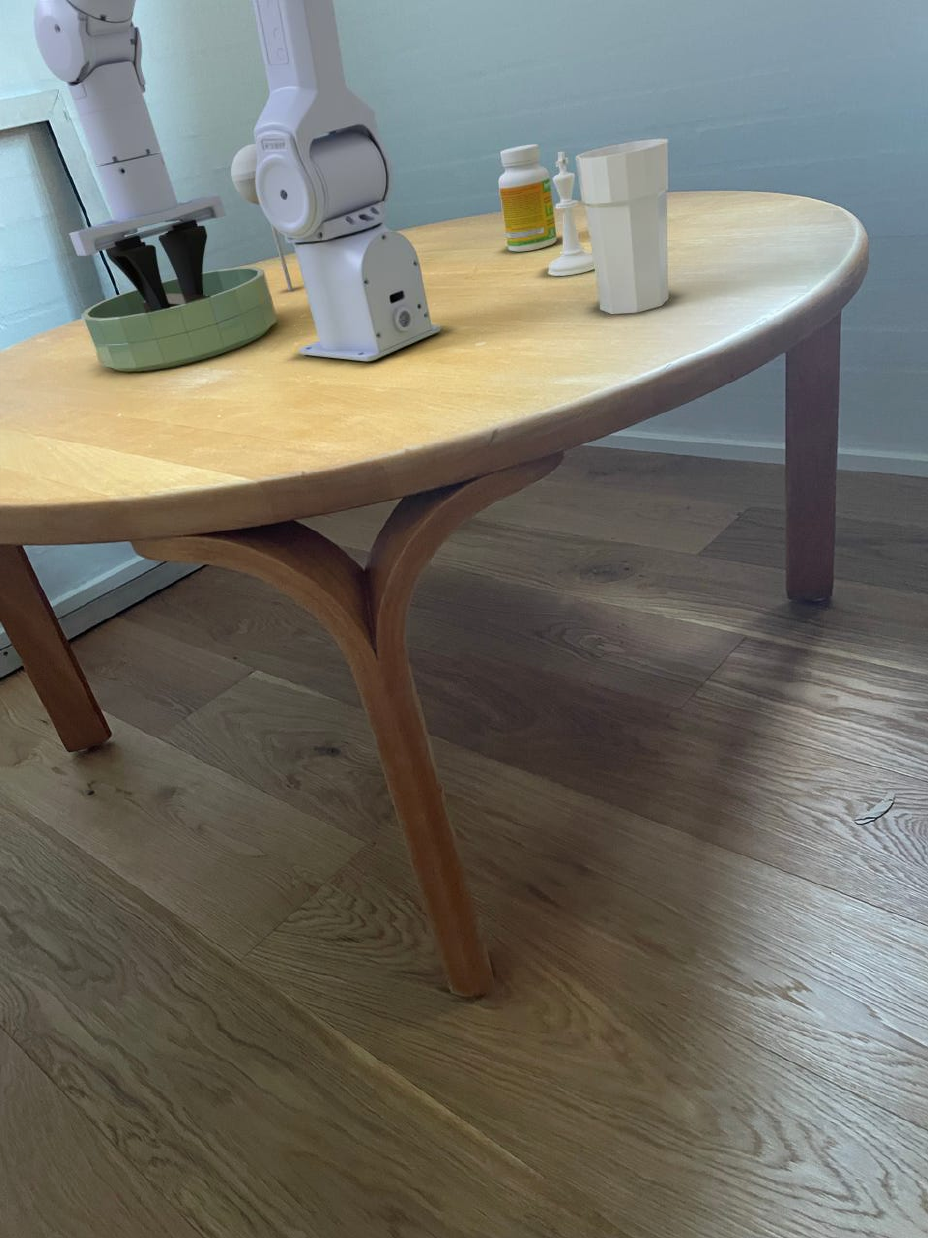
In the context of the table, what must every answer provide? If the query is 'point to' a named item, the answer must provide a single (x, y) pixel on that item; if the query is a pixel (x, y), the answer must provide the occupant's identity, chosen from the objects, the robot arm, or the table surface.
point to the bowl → (182, 322)
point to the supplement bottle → (526, 200)
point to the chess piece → (568, 227)
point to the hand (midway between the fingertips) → (181, 315)
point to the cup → (627, 222)
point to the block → (178, 299)
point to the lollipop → (252, 189)
